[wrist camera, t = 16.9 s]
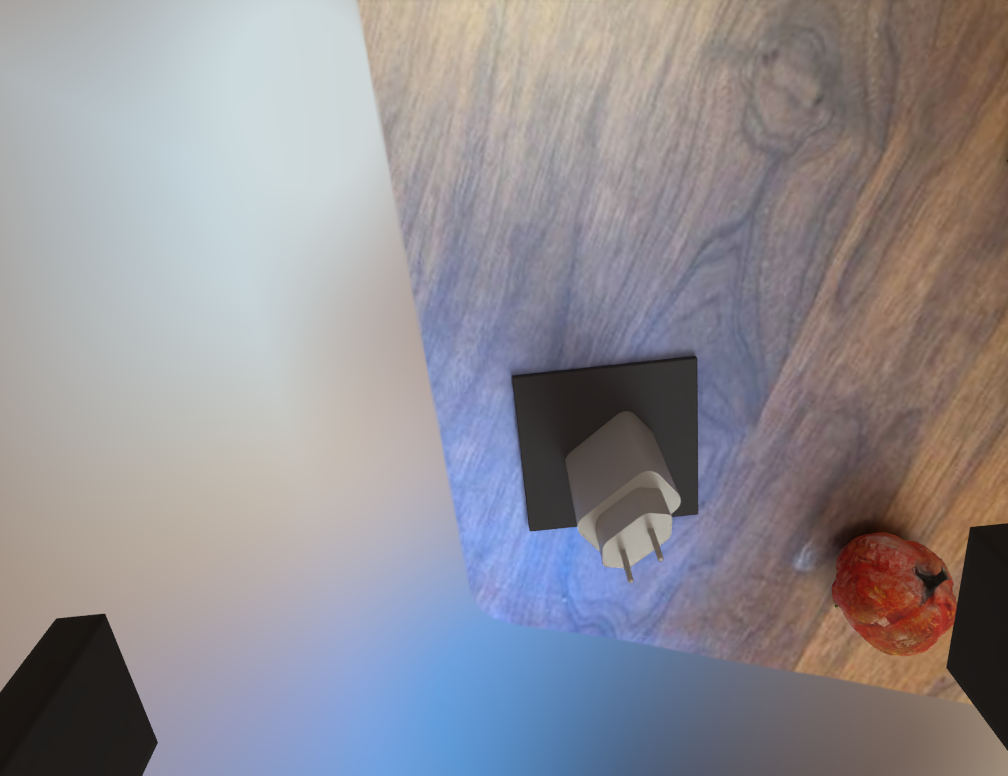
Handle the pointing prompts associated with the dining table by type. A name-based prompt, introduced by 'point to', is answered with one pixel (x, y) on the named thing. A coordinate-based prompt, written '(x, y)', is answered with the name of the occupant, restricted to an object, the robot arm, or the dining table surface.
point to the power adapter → (622, 492)
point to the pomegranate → (894, 593)
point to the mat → (586, 408)
